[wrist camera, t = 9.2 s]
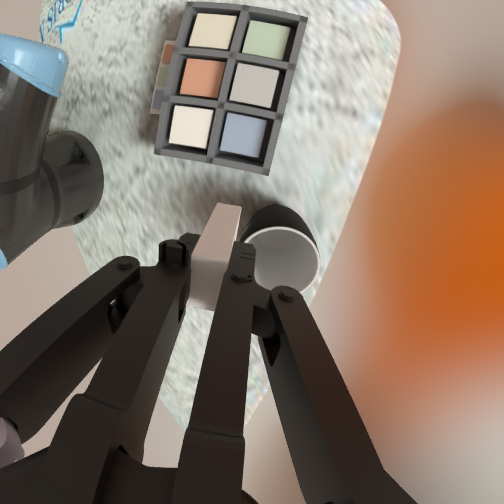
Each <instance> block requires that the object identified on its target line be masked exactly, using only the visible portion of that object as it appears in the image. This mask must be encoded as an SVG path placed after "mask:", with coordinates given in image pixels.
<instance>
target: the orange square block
mask: <svg viewBox="0 0 504 504" xmlns="http://www.w3.org/2000/svg"><path fill="white" fill-rule="evenodd" d="M226 64H227V63H226V62H220V61H211V60H201V59H189V58H188V59H187V63H186V68H185V72H184V76H183V81H182V85H181V90H180V94H184V95H193V96H201V97H209V98H216V99H218V98H219V94H220V89H221V85H222V81H223V76H224V72H225V68H226Z"/></svg>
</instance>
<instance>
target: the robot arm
mask: <svg viewBox="0 0 504 504" xmlns="http://www.w3.org/2000/svg"><path fill="white" fill-rule="evenodd" d="M68 64H69V59H68V56H67V54H66V53H65V52H64V51H63V50H61V49H59V48H56V47H53V46H50V45H46V44H43V43H40V42H36V41H32V40H28V39H24V38H20V37H16V36H11V35H6V34H1V33H0V270H1V269H3V268H6V267H7V266H8V265H9V264H10V263H11V262H12V261H13V260H14V259H15V258H16V257H18V256H19V255H20V254H21V253H22V252H24V251H25V250H26V249H27V248H28V247H29V246H31V245H32V244H33V243H34V242H36V241H37V240H38V239H39V238H41V237H42V236H43V235H45V234H46V233H47V232H49V231H50V230H51V229H55V228H61V227H66V226H71V225H75V224H78V223H80V222H82V221H83V220H84V219H86V218H87V217H89V216H90V215H91V214H92V213H93V212H94V211H95V210H96V208H97V207H98V205H99V203H100V200H101V197H102V193H103V186H104V176H103V169H102V164H101V161H100V158H99V156H98V153H97V151H96V150H95V148H94V146H93V145H92V144H91V142H90V141H89V140H88V139H87V138H85V137H84V136H83V135H81V134H79V133H76V132H72V131H66V132H61V133H57V134H54V135H51V136H49V137H48V138H47V134H48V130H49V126H50V122H51V119H52V115H53V112H54V108H55V105H56V102H57V99H58V98H59V97H60V95H61V92H60V90H61V86H62V83H63V80H64V77H65V74H66V71H67V68H68ZM241 208H242V207H240V206H234V205H229V204H223V203H217V205H216V207H215V209H214V211H213V213H212V215H211V217H210V219H209V220H208V222H207V224H206V226H205V228H204V230H203V232H202V234H201V235H197V234H192V233H186V234H184V235H182V236H181V237H180V238H179V240H174V239H171V240H165V241H162V242H161V243H160V244H159V261H158V263H157V265H156V266H149V267H148V266H140V262H139V261H138V259H136V258H134V257H131V256H121V257H117V258H115V259H113V260H112V261H110V262H109V263H108V264H106V265H105V266H103V267H102V268H101V269H99V270H98V271H97V272H95V273H94V274H93V275H91V276H90V277H89V278H87V279H86V280H85V281H83V282H82V283H81V284H79V285H78V286H77V287H75V288H74V289H73V290H71V291H70V292H69V293H68V294H66V295H65V296H64V297H63V298H61V299H60V300H59V301H58V302H56V303H55V304H54V305H53V306H51V307H50V308H49V309H48V310H47V311H45V312H44V313H43V314H42V315H41V316H40V317H38V318H37V319H36V320H35V321H33V322H32V323H31V324H30V325H29V326H28V327H26V328H25V329H24V330H23V331H22V332H21V333H20V334H19V335H17V336H16V337H15V338H14V339H13V340H12V341H11V342H10V343H9V344H7V345H6V346H5V347H4V348H3V349H2V350H1V351H0V504H258V503H257V501H256V500H254V499H253V498H252V497H251V496H250V495H249V494H248V493H246V492H245V491H244V490H242V479H243V466H244V454H245V439H244V437H243V427H244V415H245V404H246V392H247V380H248V367H249V355H250V343H251V333H252V334H255V335H257V336H258V342H259V345H260V349H261V353H262V356H263V360H264V364H265V367H266V371H267V374H268V378H269V382H270V385H271V389H272V392H273V396H274V399H275V403H276V407H277V410H278V414H279V417H280V420H281V424H282V427H283V431H284V434H285V438H286V441H287V445H288V448H289V452H290V455H291V458H292V462H293V465H294V468H295V472H296V475H297V478H298V481H299V485H300V488H301V491H302V494H303V496H304V499H305V501H306V503H307V504H417V503H416V502H415V501H414V500H413V499H412V498H411V497H410V496H409V495H408V494H407V493H406V492H405V491H404V490H403V489H402V488H401V487H400V486H399V485H398V483H397V482H396V481H395V480H394V479H393V478H392V477H390V475H389V474H387V472H386V471H385V470H384V469H383V466H382V464H381V462H380V459H379V457H378V455H377V453H376V450H375V448H374V446H373V444H372V441H371V439H370V437H369V435H368V432H367V430H366V428H365V426H364V423H363V421H362V419H361V417H360V415H359V413H358V411H357V408H356V406H355V404H354V402H353V400H352V397H351V395H350V393H349V391H348V389H347V387H346V385H345V383H344V380H343V378H342V376H341V374H340V372H339V370H338V368H337V366H336V364H335V361H334V359H333V357H332V355H331V353H330V351H329V349H328V347H327V345H326V343H325V341H324V339H323V337H322V335H321V333H320V331H319V329H318V327H317V325H316V323H315V320H314V318H313V317H312V314H311V312H310V311H309V308H308V306H307V304H306V302H305V300H304V298H303V296H302V295H301V294H300V292H299V291H297V290H296V289H294V288H292V287H289V286H283V285H282V286H276V287H274V288H273V289H272V291H271V290H268V289H266V288H264V287H262V286H260V285H259V284H258V283H257V282H256V281H255V276H254V272H255V259H256V248H255V247H254V245H253V244H249V243H244V242H238V241H236V236H237V230H238V225H239V219H240V214H241ZM113 300H114V302H113V303H111V302H112V301H113ZM187 300H188V306H191V307H196V308H201V309H206V310H211V311H215V312H214V316H213V320H212V325H211V329H210V333H209V337H208V341H207V345H206V350H205V354H204V358H203V362H202V367H201V371H200V375H199V380H198V384H197V389H196V393H195V398H194V402H193V407H192V411H191V416H190V420H189V424H188V427H187V429H186V432H185V435H184V439H183V444H182V449H181V453H180V459H179V463H178V468H161V467H148V466H145V465H143V464H142V461H143V454H144V441H145V437H146V434H147V430H148V427H149V424H150V420H151V416H152V413H153V410H154V407H155V403H156V400H157V397H158V394H159V391H160V387H161V384H162V381H163V378H164V375H165V372H166V369H167V366H168V363H169V360H170V357H171V354H172V351H173V348H174V345H175V342H176V339H177V336H178V333H179V330H180V327H181V324H182V322H183V319H184V316H185V312H186V303H187ZM110 303H111V304H110ZM102 357H103V358H102ZM101 358H102V360H101V362H100V364H99V366H98V368H97V370H96V372H95V374H94V376H93V378H92V380H91V382H90V384H89V386H88V388H87V390H86V391H85V392H84V393H83V394H76V395H75V396H73V398H72V399H71V400H70V402H69V404H68V406H67V408H66V410H65V412H64V414H63V416H62V419H61V421H60V423H59V426H58V428H57V430H56V432H55V435H54V437H53V439H52V442H51V444H50V446H48V447H46V448H44V449H42V450H40V451H38V452H36V453H34V454H32V455H29V456H28V457H25V458H23V457H24V450H23V448H22V446H21V444H23V443H25V442H26V441H28V440H29V439H30V438H31V437H33V436H34V435H35V434H36V433H37V432H38V431H39V430H40V429H41V428H42V427H43V426H44V425H45V423H46V422H47V421H48V420H49V419H50V417H51V416H52V415H53V414H54V413H55V411H56V410H57V409H58V408H59V407H60V405H61V404H62V403H63V402H64V401H65V399H66V398H67V397H68V396H69V395H70V394H71V393H72V391H73V390H74V389H75V388H76V387H77V386H78V384H79V383H80V382H81V381H82V380H83V379H84V378H85V376H86V375H87V374H88V373H89V372H90V371H91V370H92V369H93V367H94V366H95V365H96V364H97V363H98V362H99V361H100V359H101ZM15 460H18V461H16V462H15Z"/></svg>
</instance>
